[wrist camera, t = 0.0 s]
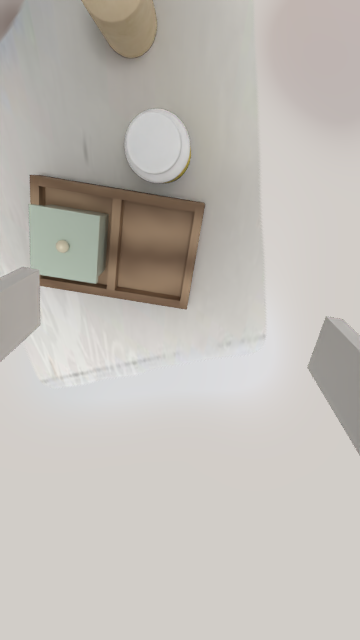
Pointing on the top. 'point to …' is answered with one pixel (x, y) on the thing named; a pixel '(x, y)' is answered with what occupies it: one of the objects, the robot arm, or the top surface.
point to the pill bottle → (157, 146)
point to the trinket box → (68, 242)
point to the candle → (125, 24)
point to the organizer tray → (132, 240)
